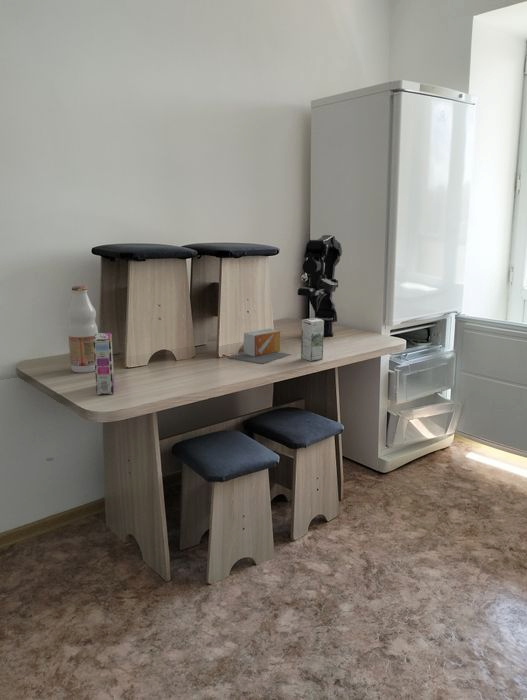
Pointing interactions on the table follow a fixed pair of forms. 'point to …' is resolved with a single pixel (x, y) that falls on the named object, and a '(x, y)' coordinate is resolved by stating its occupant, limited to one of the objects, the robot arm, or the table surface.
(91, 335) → the fruit juice
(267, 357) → the felt mat
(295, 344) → the table surface
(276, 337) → the small box
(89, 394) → the table surface
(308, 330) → the syrup box
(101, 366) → the candy bar box
